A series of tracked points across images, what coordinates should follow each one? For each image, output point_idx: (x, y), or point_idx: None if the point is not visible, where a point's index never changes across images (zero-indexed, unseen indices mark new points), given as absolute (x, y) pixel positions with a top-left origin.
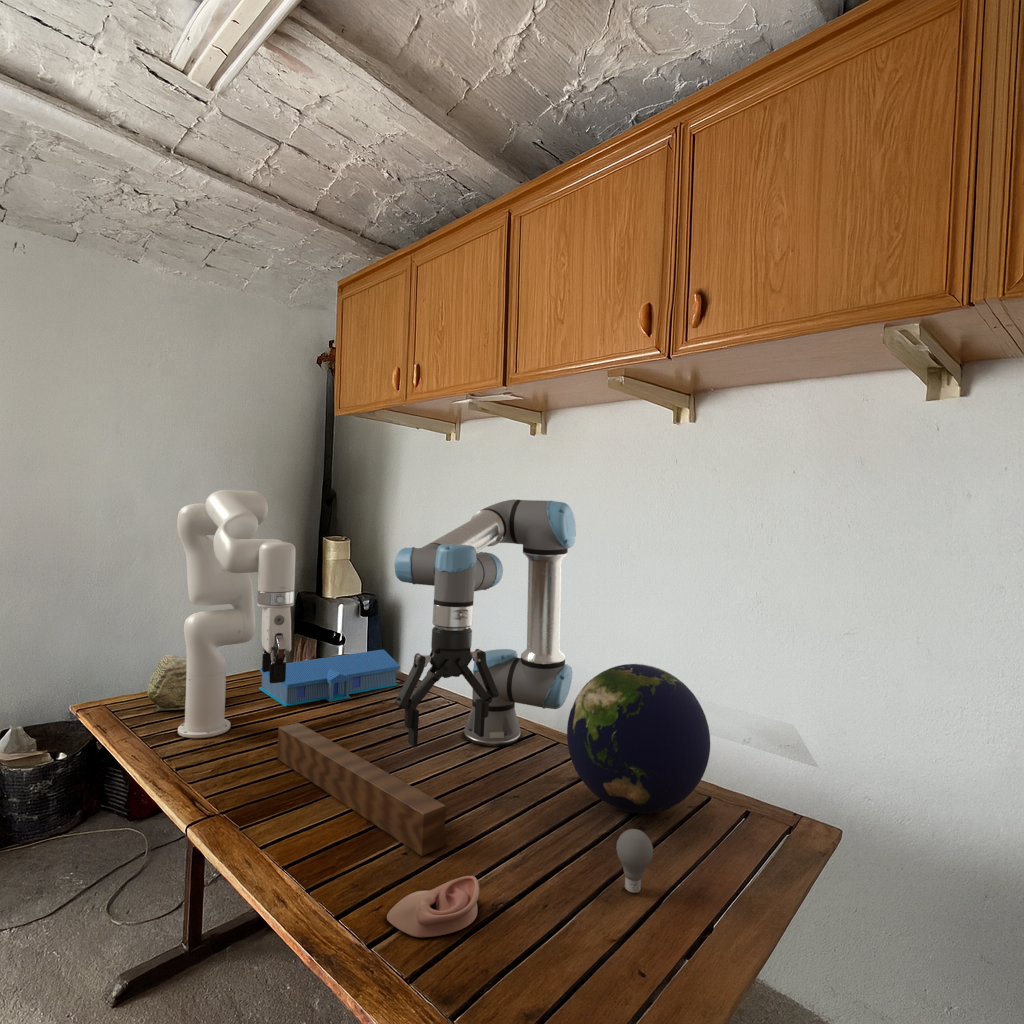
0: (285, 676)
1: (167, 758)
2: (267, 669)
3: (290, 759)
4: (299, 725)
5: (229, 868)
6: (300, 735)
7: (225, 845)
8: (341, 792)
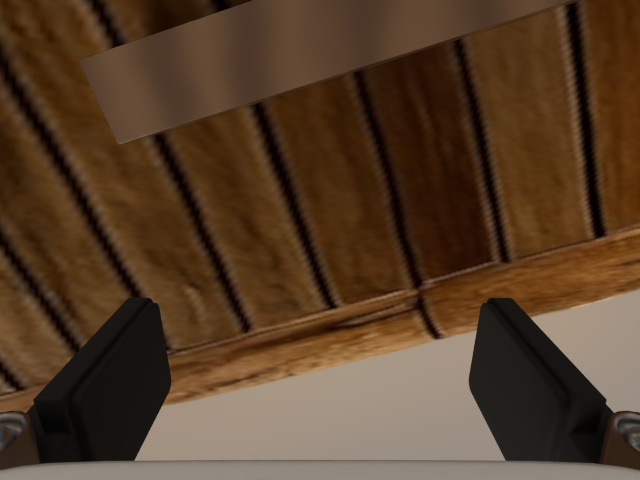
0: (529, 317)
1: None
2: (162, 369)
3: (232, 110)
4: (118, 63)
5: (629, 291)
6: (229, 82)
7: (549, 290)
8: (525, 17)
